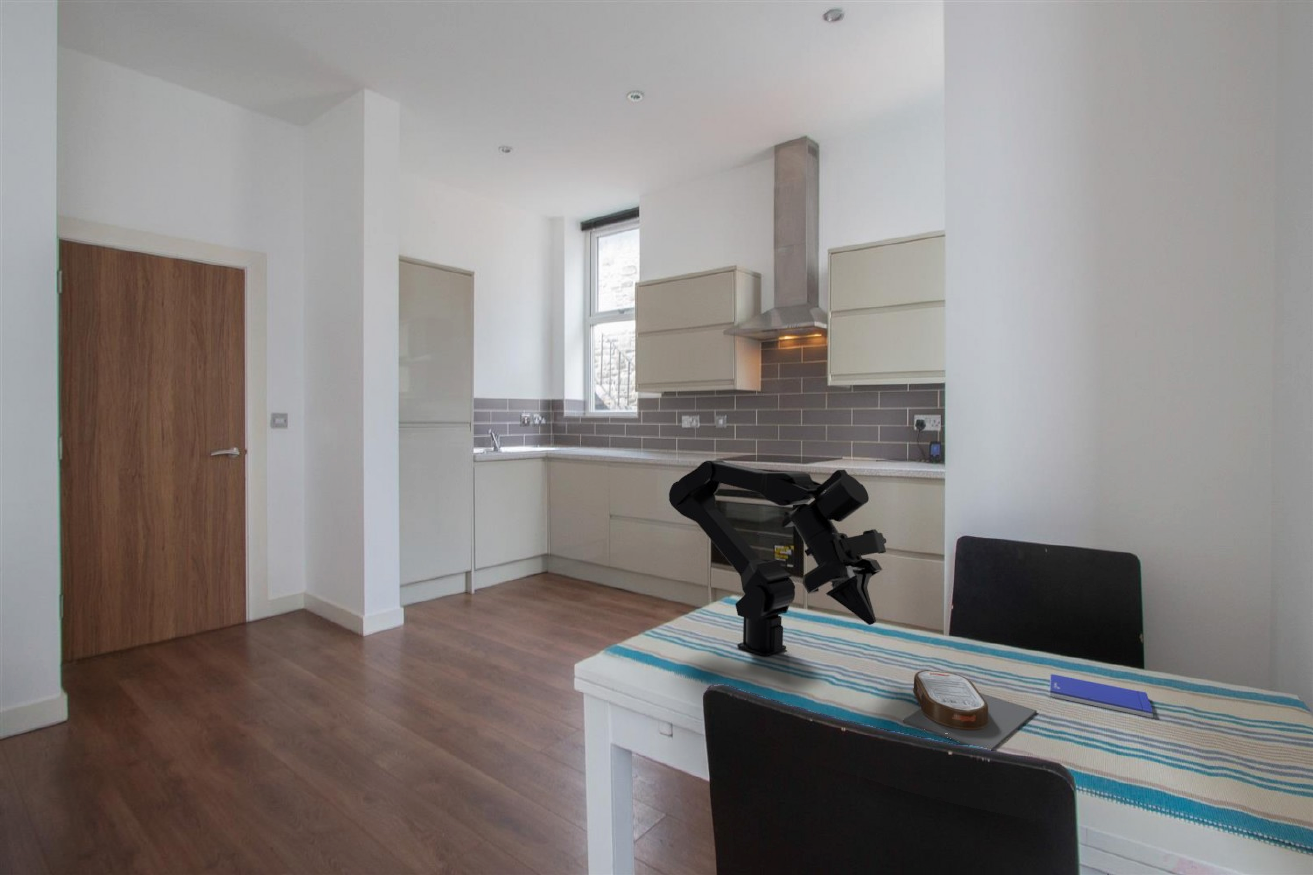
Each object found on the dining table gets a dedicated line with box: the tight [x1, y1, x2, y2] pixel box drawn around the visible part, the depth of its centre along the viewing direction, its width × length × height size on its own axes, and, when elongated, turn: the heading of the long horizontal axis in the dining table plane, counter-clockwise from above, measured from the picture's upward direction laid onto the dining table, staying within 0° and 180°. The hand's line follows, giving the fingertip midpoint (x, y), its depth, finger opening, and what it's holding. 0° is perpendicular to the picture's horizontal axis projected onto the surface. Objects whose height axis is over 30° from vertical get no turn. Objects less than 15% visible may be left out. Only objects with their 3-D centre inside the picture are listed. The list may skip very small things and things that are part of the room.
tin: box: [912, 669, 989, 730], centre depth 91 cm, size 15×3×8 cm
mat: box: [902, 692, 1038, 751], centre depth 88 cm, size 11×18×1 cm, turn 132°
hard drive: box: [1049, 673, 1154, 719], centre depth 96 cm, size 2×8×12 cm
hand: (873, 623), depth 98 cm, fingers closed
